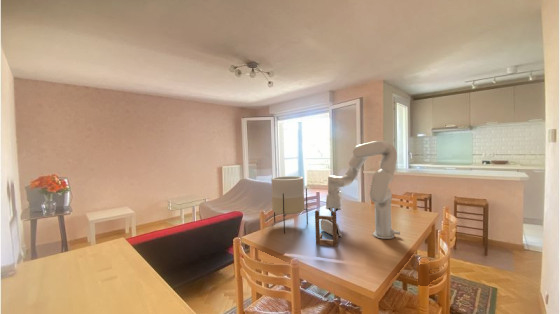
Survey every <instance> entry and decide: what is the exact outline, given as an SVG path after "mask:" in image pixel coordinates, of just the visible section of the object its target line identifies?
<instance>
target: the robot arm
mask: <svg viewBox="0 0 560 314" xmlns="http://www.w3.org/2000/svg"><path fill="white" fill-rule="evenodd" d="M397 153H398V152H397V150H396V148H395V146H394V145H393V144H392V143H390V142H388V141H386V140H374V141H373V140H372V141H370V142H366V143H362V144H361V143H360V144H358V145H355V146H354V148H353V150H352V154H353V155H352V157H351V158H350V159H349V161H348V170H347V172H346V173H345V174H344V175H341V176H338V175H333V174H332V175H328V176H327V194H326V199H325V203H326V204H325V209H326V210H329V211H330V212H331V213H330V216H332V212H333V211H335V212H336V213H337V212H338V211H341V210H342V208H341V207H342V206H341V205H342V203H341V195H340V194H341V193H342V192H341V191H340V190H339V188H345V187H348V186H350V185H351V184H352V183H353V182H354V181H355V180H356V178H357V176H358V174H359V172H360V169H361V168H362V166H363V165H364V164H365V162H366V161H367V160H368V159H369V157H373V156H378V155H381V160H380V164H379V169H378V170H377V171H375V172H374V174H373V175H372V178H371V184H370V191H369V197H370V200H371V202H373V203H374V228H375V229H374V231H373V232H372V235H373V237H375V238H379V239H382V240H383V239H384V240H389V239H390V240H392V239H394V238H395V235H398V236H399V235H401V231H399V230H398V229H397V230H395V229H393V227H392V199H393V194H392V193H393V192H392V191H391V188H389V184H391V183H392V182H393V180H394V178H395V177H394V174H395V170H396V164H397V157H398V154H397Z"/></svg>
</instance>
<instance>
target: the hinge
mask: <svg viewBox="0 0 560 314" xmlns="http://www.w3.org/2000/svg"><path fill="white" fill-rule="evenodd" d="M320 230H322V231H324V233H328V234H329V235H332V236H333V223H332V220H324V219H320ZM337 235H338V237H341V238H342V237H343V234H342V233H341V231H340V225H339V224H338V223H337Z"/></svg>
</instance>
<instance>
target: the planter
mask: <svg viewBox="0 0 560 314" xmlns="http://www.w3.org/2000/svg"><path fill="white" fill-rule="evenodd" d="M270 180H271V206H272V207H271V209H272V212H273V222H274V224H275V223H276V214H279V215H283V217H282V218H283V233H284V234H286V226H285V225H286V222H285V220H286V219H285V217H286V216H288V215H296V214H300V213H303V212H305V211H306V212H305V213H306V224H307V225H308V224H309V216H308V214H309V213H308V189H307V188H305V187H304V184H305V183H304V177H303V176H298V175H297V176H293V175H290V176H289V175H287V176H286V175H285V176H276V177H272V178H271V179H270ZM305 205H306V206H305ZM305 207H306V208H305Z"/></svg>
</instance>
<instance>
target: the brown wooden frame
mask: <svg viewBox="0 0 560 314" xmlns="http://www.w3.org/2000/svg"><path fill="white" fill-rule="evenodd" d="M319 211H320V210H317V209H316V210H315V211H314V213H315V214H314V216H315V217H314V219H315V220H314V221H315V222H314V223H315V224H314V225H315V226H314V227H315V245H316V246H317V245H319V246H329V247H333V248H334V247H335V248H336V247H338V242H339V236H338V235H337V224H338V223H337V211H336V212H335V211H334V210H333V212H332V216H331V215H320V212H319ZM322 219H324V220H332V223H333V235H332V239H328V238H323V233H322V232H320V230H321V226H320V220H322Z"/></svg>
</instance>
